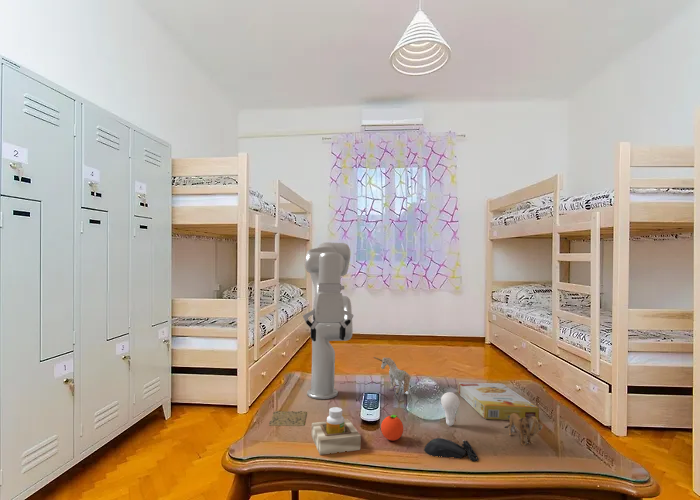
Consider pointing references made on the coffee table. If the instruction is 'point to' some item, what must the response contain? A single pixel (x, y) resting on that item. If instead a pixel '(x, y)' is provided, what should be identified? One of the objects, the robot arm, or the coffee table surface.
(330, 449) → the socket block
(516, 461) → the coffee table surface
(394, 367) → the unicorn figurine
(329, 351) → the robot arm
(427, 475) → the coffee table surface
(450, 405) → the lightbulb
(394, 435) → the clementine
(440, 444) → the black computer mouse
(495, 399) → the cereal box
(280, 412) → the cookie
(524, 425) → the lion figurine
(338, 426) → the supplement bottle
